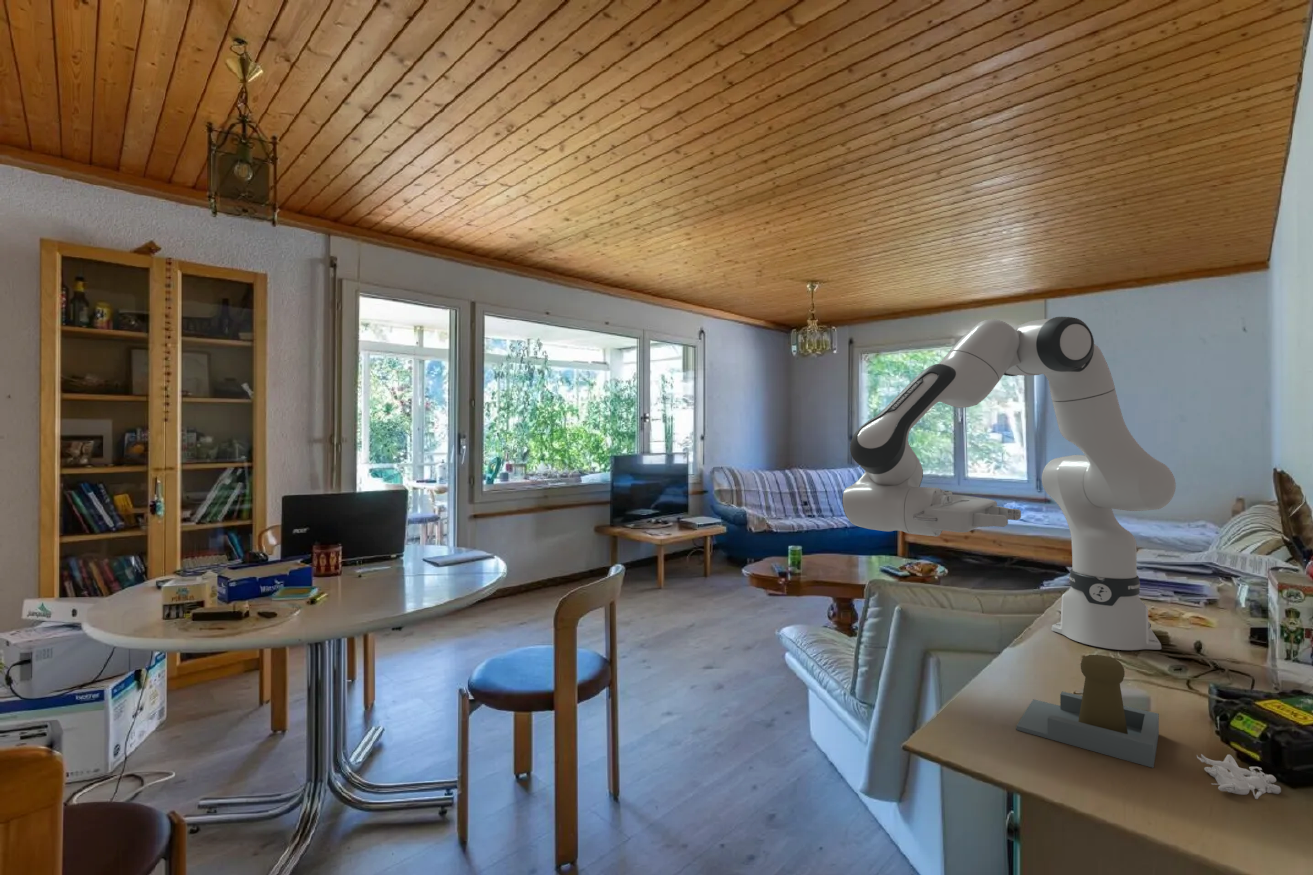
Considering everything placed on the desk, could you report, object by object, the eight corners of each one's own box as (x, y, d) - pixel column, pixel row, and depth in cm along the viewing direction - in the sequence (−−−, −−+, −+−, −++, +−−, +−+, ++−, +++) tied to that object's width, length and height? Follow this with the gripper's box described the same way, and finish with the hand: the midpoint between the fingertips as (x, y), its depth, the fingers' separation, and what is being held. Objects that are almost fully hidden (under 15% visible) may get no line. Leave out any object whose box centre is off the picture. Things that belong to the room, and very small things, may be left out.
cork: (1136, 745, 86) (1136, 667, 86) (1087, 740, 88) (1087, 663, 88) (1116, 725, 92) (1116, 651, 92) (1070, 720, 94) (1070, 648, 93)
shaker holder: (1033, 702, 101) (1033, 684, 101) (1158, 733, 90) (1158, 713, 90) (1016, 729, 92) (1016, 709, 92) (1153, 767, 81) (1153, 745, 81)
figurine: (1269, 782, 79) (1298, 814, 72) (1192, 766, 83) (1212, 795, 75) (1270, 759, 79) (1299, 788, 72) (1192, 743, 83) (1213, 770, 76)
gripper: (908, 499, 106) (998, 505, 96) (946, 490, 121) (1026, 494, 112) (908, 536, 106) (998, 545, 97) (946, 522, 121) (1026, 529, 112)
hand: (1013, 517), depth 104 cm, fingers open, 8 cm apart
